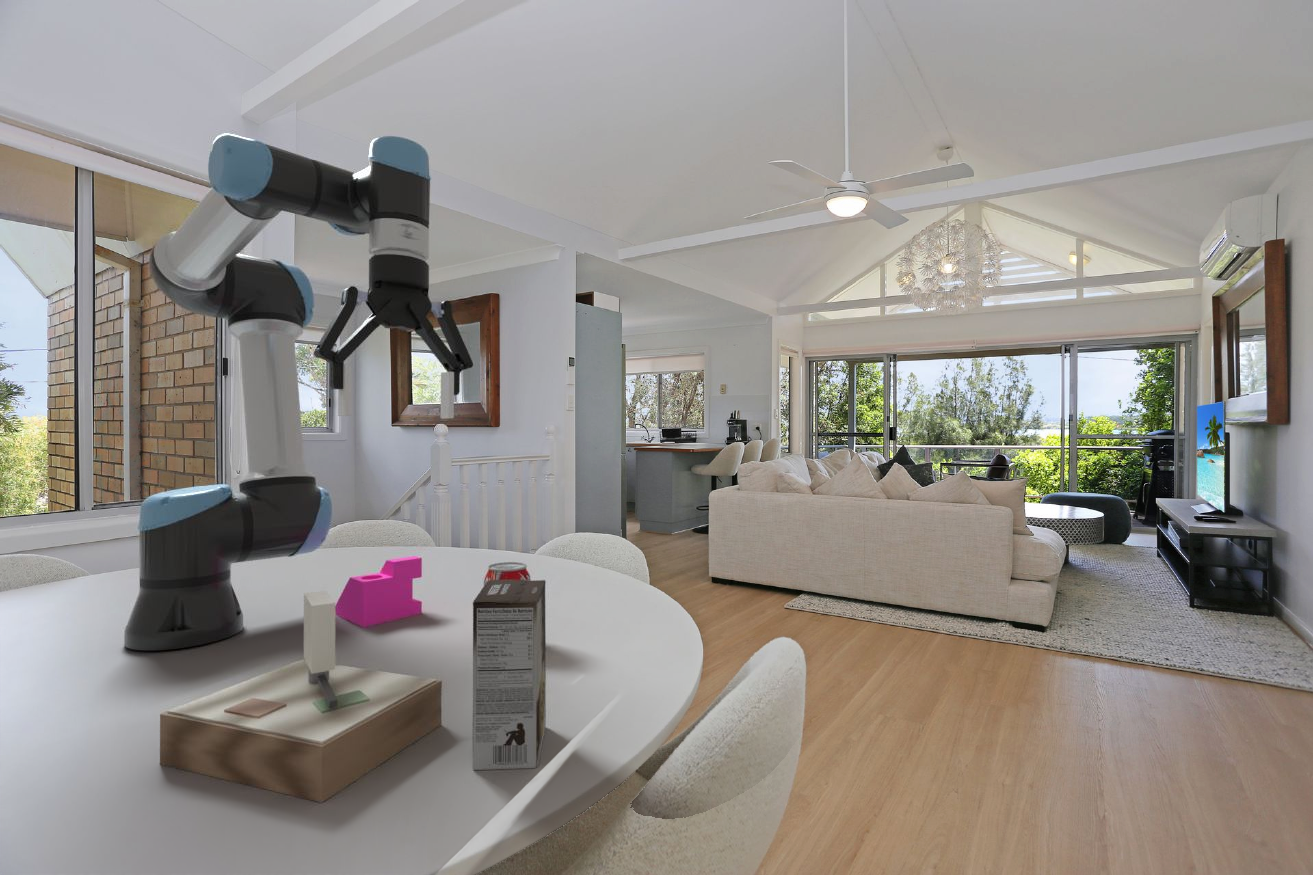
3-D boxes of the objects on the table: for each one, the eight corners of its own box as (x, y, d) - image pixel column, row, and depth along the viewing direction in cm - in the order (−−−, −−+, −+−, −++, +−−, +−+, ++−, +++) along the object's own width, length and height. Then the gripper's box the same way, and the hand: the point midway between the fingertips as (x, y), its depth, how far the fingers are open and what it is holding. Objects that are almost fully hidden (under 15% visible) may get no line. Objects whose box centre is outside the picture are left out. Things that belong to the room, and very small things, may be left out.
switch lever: (320, 712, 61) (320, 619, 61) (303, 672, 71) (303, 593, 71) (346, 706, 62) (346, 616, 62) (325, 668, 73) (325, 590, 73)
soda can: (519, 653, 93) (519, 571, 93) (474, 650, 95) (474, 569, 95) (537, 639, 100) (538, 562, 100) (495, 636, 102) (496, 560, 102)
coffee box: (486, 728, 69) (487, 578, 69) (547, 726, 70) (547, 577, 70) (469, 772, 60) (470, 600, 60) (539, 769, 61) (539, 598, 61)
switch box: (159, 763, 62) (160, 709, 62) (301, 699, 77) (301, 656, 77) (321, 802, 55) (322, 741, 55) (441, 724, 70) (441, 676, 70)
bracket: (421, 615, 114) (421, 557, 114) (363, 628, 106) (363, 566, 106) (389, 604, 122) (389, 549, 122) (332, 615, 114) (333, 557, 114)
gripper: (303, 233, 75) (302, 414, 75) (497, 270, 92) (496, 418, 92) (288, 246, 81) (287, 415, 81) (473, 279, 98) (472, 419, 98)
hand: (398, 417), depth 86 cm, fingers open, 13 cm apart
